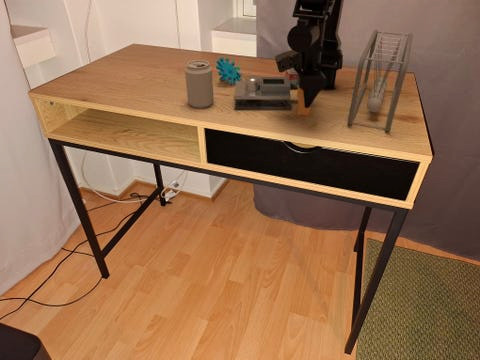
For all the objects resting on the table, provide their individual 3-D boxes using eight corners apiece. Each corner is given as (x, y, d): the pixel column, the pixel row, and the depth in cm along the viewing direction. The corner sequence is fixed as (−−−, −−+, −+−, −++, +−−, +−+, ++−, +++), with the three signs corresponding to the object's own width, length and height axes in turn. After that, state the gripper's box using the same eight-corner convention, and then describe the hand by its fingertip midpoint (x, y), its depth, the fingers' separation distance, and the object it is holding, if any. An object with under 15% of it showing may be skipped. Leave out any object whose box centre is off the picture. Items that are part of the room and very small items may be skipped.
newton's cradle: (362, 86, 115) (375, 27, 104) (397, 91, 111) (413, 31, 101) (346, 127, 93) (359, 58, 82) (388, 135, 89) (408, 64, 79)
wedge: (309, 111, 100) (313, 80, 94) (310, 115, 98) (314, 83, 93) (295, 111, 100) (298, 80, 94) (296, 115, 98) (299, 83, 93)
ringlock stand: (305, 93, 110) (308, 70, 106) (311, 110, 100) (314, 86, 96) (236, 92, 110) (235, 70, 106) (234, 109, 101) (234, 86, 97)
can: (203, 111, 100) (200, 69, 93) (182, 105, 103) (178, 64, 96) (218, 102, 105) (217, 61, 98) (198, 96, 108) (195, 56, 101)
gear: (229, 85, 111) (212, 57, 111) (218, 95, 115) (202, 68, 115) (249, 79, 119) (234, 53, 119) (239, 89, 123) (224, 64, 123)
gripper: (275, 30, 95) (272, 86, 104) (280, 52, 80) (276, 115, 89) (317, 30, 95) (311, 86, 104) (330, 52, 80) (321, 116, 89)
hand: (304, 100), depth 97 cm, fingers open, 9 cm apart
